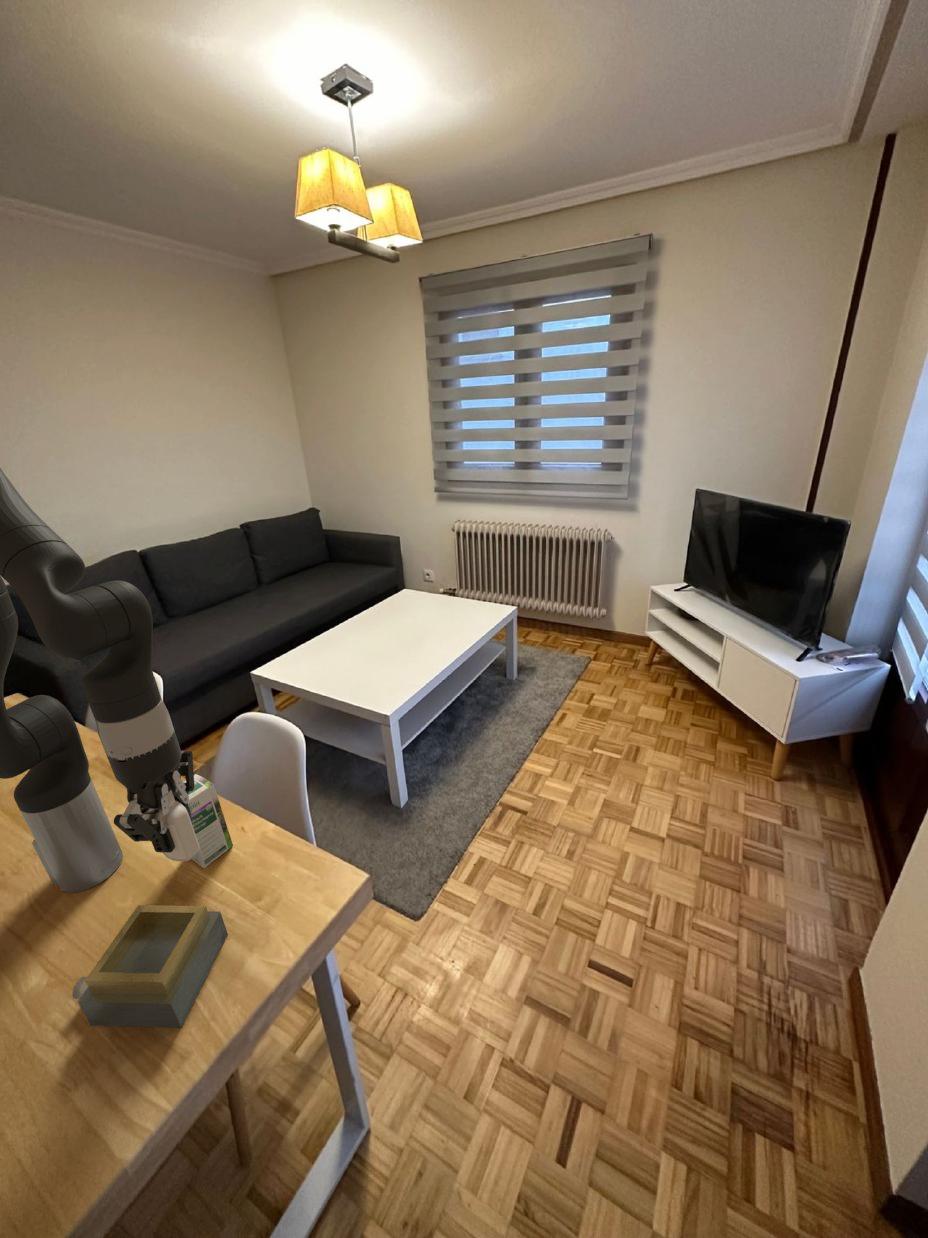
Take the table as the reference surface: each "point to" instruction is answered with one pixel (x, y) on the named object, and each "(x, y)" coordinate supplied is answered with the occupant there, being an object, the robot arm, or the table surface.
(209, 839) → the syrup box
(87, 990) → the grey gold open box
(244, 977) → the table surface
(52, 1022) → the table surface
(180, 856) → the eye dropper bottle
